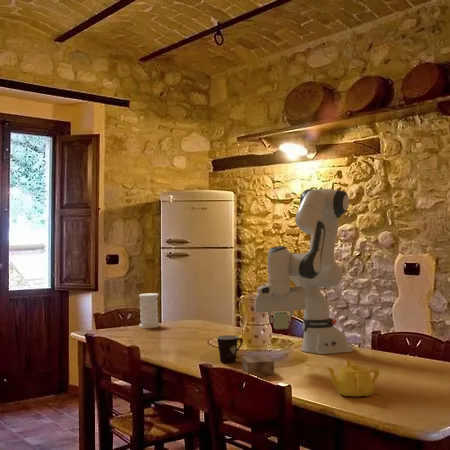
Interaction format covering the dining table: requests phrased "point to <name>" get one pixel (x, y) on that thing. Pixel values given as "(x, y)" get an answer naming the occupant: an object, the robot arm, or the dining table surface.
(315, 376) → the dining table surface
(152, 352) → the dining table surface
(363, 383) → the teapot
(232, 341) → the coffee mug
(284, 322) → the green cube
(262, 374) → the walnut box
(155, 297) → the decorative container
